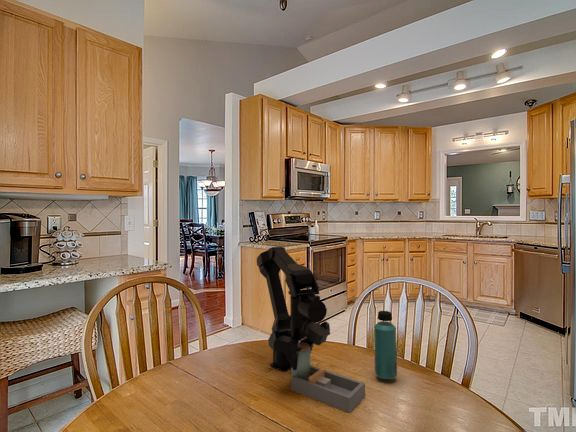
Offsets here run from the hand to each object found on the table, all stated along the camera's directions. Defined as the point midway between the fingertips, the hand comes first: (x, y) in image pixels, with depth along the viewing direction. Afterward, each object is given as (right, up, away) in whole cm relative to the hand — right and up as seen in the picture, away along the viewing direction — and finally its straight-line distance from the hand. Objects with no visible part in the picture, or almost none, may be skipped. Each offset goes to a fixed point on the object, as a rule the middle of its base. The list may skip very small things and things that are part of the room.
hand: (300, 366), depth 95 cm
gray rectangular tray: (+7, -5, -5) cm, 10 cm away
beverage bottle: (+25, -5, +2) cm, 26 cm away
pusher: (+6, -4, -4) cm, 8 cm away
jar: (0, -2, 0) cm, 2 cm away
